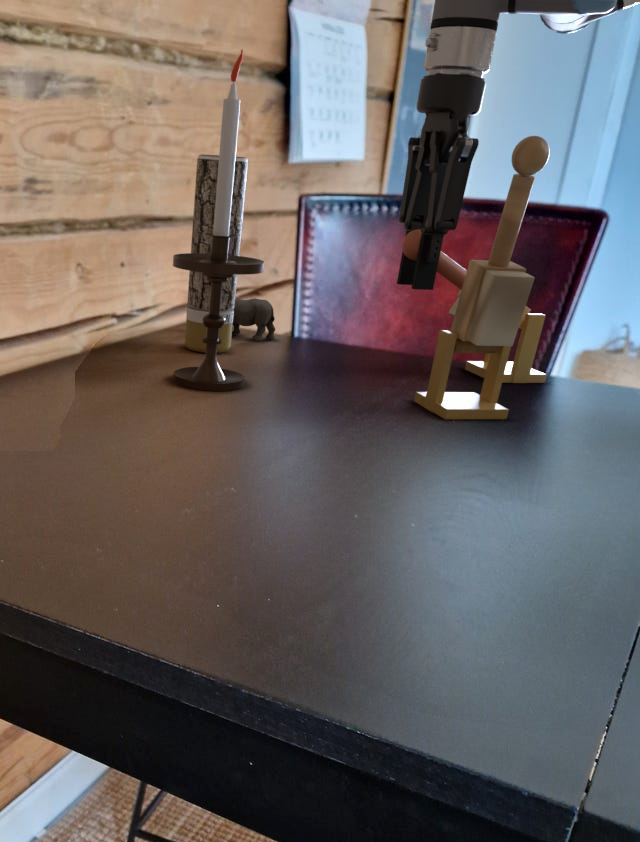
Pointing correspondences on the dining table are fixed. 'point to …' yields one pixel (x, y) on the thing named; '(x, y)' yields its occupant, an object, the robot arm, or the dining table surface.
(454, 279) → the brush far
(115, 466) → the dining table surface
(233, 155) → the candlestick
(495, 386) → the bracket near
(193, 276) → the paper tube
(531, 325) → the bracket far
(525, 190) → the brush near
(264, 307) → the rhino figurine
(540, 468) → the dining table surface
